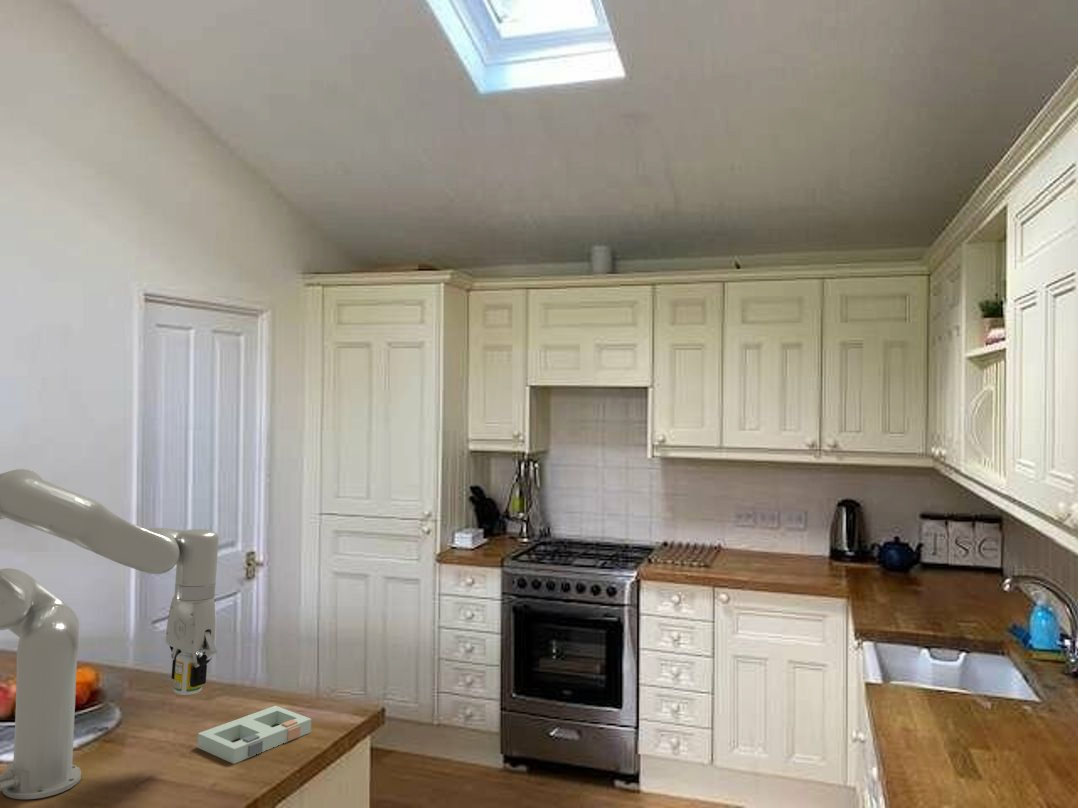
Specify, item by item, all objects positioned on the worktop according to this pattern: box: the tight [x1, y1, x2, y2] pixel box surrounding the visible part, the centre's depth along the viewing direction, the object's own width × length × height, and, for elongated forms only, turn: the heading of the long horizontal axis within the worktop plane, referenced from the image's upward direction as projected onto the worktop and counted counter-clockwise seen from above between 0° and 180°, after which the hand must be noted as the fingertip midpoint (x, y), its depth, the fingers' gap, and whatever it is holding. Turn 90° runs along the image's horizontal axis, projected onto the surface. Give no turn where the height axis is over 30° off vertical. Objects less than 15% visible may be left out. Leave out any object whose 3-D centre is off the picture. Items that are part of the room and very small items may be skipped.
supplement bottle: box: [173, 646, 204, 696], centre depth 164 cm, size 5×5×10 cm
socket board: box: [196, 705, 312, 764], centre depth 176 cm, size 20×12×3 cm, turn 147°
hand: (188, 680), depth 164 cm, fingers closed on supplement bottle, 5 cm apart
